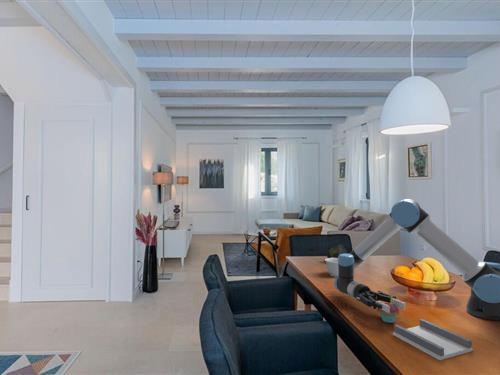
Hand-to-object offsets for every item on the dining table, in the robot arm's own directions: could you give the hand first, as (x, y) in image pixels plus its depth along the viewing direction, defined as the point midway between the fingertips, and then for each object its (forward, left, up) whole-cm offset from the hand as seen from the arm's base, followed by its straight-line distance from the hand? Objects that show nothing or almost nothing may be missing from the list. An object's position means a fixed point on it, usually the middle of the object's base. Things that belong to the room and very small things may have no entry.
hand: (396, 307), depth 134 cm
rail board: (-9, +12, -8) cm, 17 cm away
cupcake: (+3, -4, -7) cm, 9 cm away
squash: (+21, -106, -8) cm, 108 cm away
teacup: (+24, -74, -8) cm, 78 cm away
